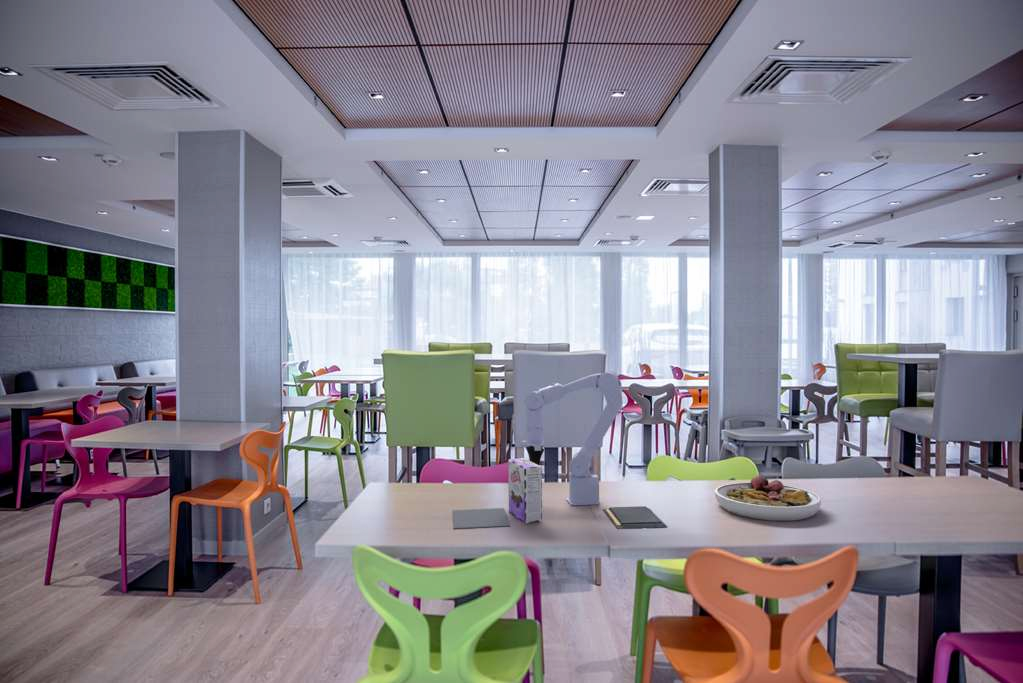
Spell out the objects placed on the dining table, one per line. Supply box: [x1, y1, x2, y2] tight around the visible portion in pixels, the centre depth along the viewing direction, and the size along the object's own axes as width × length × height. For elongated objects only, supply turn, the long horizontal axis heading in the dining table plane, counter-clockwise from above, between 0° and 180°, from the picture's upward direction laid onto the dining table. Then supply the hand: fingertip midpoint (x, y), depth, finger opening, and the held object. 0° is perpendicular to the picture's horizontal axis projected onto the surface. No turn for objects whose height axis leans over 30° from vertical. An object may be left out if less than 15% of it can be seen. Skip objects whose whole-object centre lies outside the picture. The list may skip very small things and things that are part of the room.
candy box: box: [507, 457, 543, 524], centre depth 181 cm, size 14×6×16 cm, turn 21°
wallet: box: [602, 505, 668, 530], centre depth 178 cm, size 20×2×15 cm
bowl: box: [714, 475, 822, 522], centre depth 186 cm, size 30×30×8 cm
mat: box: [452, 507, 511, 530], centre depth 179 cm, size 16×18×1 cm
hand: (534, 468), depth 200 cm, fingers closed
